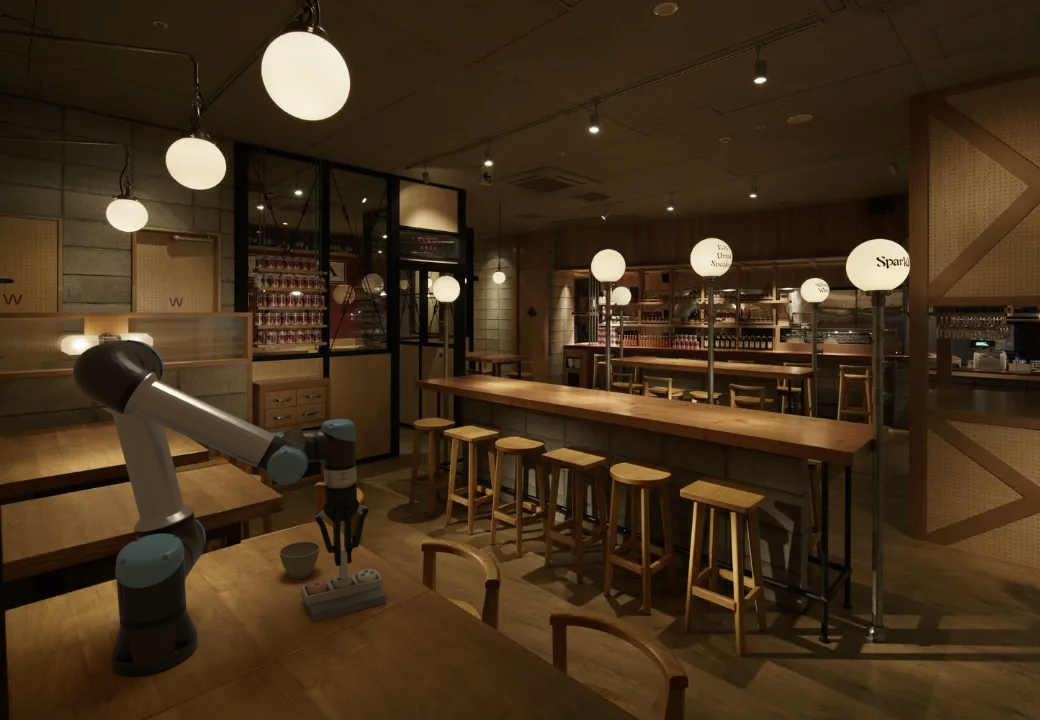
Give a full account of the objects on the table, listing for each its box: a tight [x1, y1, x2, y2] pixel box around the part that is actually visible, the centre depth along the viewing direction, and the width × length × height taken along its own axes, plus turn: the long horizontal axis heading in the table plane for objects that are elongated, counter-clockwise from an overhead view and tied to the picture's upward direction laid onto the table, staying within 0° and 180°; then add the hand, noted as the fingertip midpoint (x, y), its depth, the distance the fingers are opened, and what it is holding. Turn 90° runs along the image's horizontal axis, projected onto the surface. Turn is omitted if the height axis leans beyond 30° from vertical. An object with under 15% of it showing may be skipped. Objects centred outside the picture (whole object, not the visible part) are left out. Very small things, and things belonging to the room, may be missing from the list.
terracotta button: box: [307, 579, 327, 596], centre depth 139 cm, size 4×4×3 cm
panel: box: [300, 568, 387, 623], centre depth 143 cm, size 18×15×4 cm
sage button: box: [333, 574, 352, 590], centre depth 142 cm, size 4×4×3 cm
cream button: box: [357, 568, 376, 584], centre depth 145 cm, size 4×4×3 cm
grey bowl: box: [279, 541, 321, 580], centre depth 154 cm, size 10×10×7 cm
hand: (343, 576), depth 142 cm, fingers closed
